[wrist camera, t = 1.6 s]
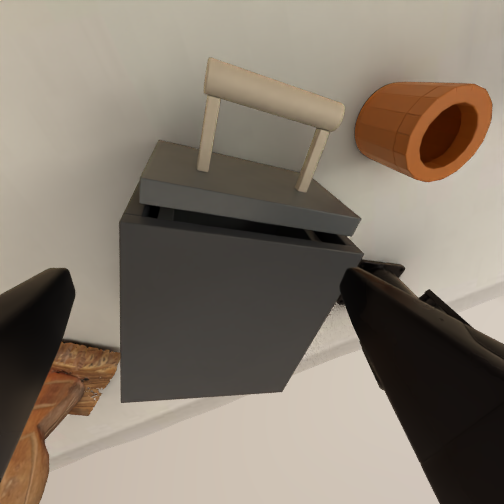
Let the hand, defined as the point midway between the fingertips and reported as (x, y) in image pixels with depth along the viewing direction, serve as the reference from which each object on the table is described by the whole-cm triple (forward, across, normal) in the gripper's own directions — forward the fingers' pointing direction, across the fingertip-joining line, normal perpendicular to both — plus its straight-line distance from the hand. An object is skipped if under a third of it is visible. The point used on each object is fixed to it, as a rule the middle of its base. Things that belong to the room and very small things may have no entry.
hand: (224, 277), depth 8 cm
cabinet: (+13, -1, +8) cm, 16 cm away
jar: (+13, -14, -5) cm, 20 cm away
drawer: (+12, -2, +3) cm, 13 cm away
